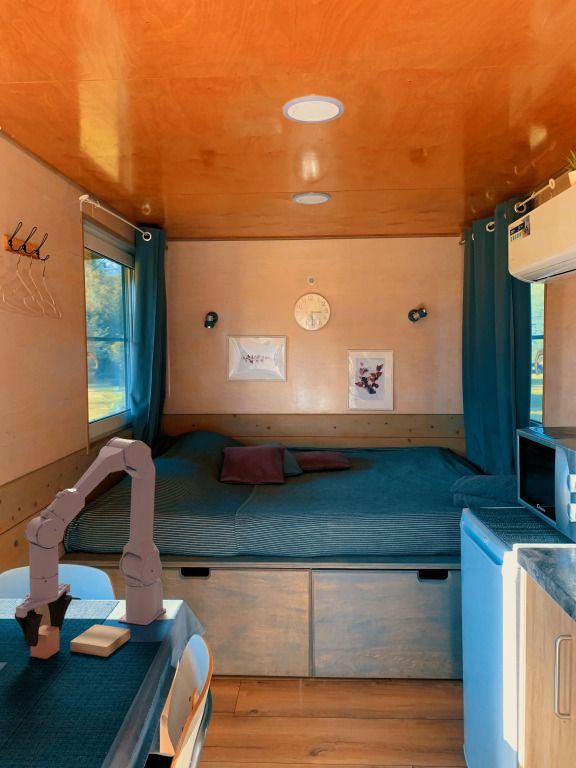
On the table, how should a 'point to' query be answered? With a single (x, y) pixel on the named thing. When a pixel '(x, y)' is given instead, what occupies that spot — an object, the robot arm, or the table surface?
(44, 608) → the candle
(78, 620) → the table surface
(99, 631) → the birch block
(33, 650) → the terracotta block
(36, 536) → the robot arm
